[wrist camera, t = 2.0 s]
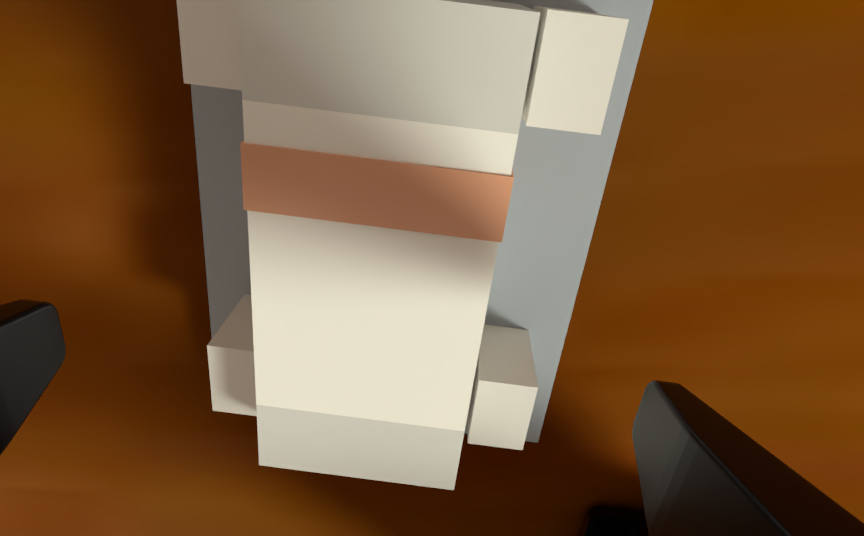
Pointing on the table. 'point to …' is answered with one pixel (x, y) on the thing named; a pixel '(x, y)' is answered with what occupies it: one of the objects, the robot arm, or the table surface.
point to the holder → (526, 219)
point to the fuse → (375, 222)
